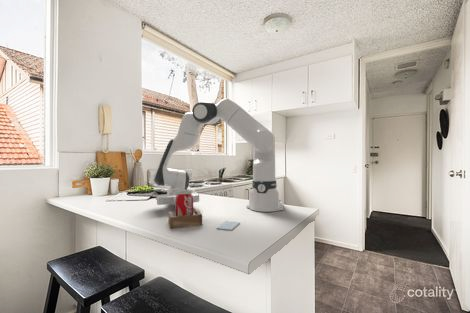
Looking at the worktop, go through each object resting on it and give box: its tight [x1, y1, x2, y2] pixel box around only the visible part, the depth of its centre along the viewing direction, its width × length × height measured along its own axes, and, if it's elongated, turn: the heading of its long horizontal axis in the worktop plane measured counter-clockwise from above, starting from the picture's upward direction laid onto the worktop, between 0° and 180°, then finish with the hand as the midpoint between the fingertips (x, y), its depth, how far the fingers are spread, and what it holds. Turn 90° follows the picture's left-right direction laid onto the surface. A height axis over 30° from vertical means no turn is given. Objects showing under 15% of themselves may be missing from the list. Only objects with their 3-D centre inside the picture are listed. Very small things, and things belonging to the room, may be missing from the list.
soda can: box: [174, 191, 194, 216], centre depth 91 cm, size 7×7×12 cm
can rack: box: [168, 208, 203, 229], centre depth 89 cm, size 9×12×4 cm
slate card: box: [216, 220, 240, 232], centre depth 85 cm, size 9×6×1 cm, turn 160°
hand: (180, 201), depth 104 cm, fingers closed
